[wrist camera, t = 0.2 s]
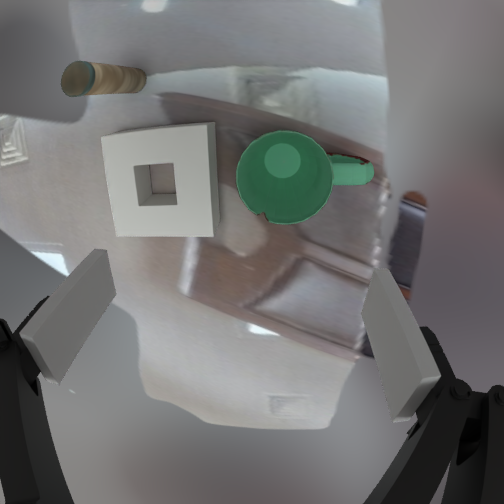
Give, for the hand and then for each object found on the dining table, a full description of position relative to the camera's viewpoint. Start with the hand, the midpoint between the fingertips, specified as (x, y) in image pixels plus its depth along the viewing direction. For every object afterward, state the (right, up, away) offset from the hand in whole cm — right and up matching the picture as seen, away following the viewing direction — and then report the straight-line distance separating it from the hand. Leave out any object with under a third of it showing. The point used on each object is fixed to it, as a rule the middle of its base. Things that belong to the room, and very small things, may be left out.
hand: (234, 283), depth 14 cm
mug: (+7, +14, +24) cm, 28 cm away
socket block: (-11, +12, +26) cm, 30 cm away
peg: (-15, +24, +19) cm, 35 cm away
